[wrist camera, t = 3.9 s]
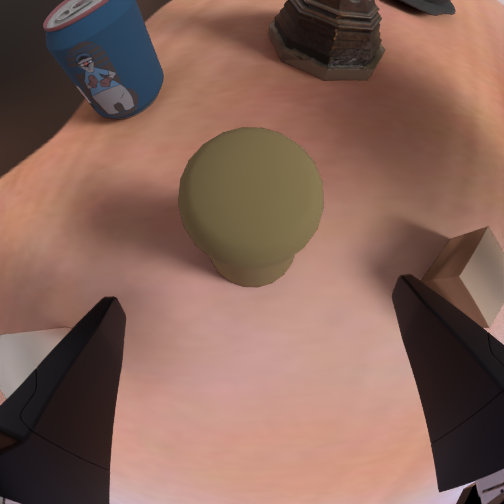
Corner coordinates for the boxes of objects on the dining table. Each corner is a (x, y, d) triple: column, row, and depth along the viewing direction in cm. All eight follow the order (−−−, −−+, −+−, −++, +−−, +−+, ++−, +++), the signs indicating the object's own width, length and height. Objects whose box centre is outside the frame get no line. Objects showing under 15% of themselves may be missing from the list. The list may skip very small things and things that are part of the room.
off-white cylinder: (62, 390, 18) (9, 413, 11) (41, 335, 18) (-16, 343, 11) (103, 380, 18) (50, 408, 11) (80, 319, 18) (19, 325, 12)
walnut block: (450, 324, 18) (489, 328, 13) (419, 281, 19) (459, 276, 14) (477, 281, 19) (516, 276, 14) (450, 238, 19) (488, 226, 14)
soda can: (146, 60, 22) (109, -29, 10) (181, 91, 21) (145, -19, 9) (89, 101, 21) (30, 23, 10) (116, 139, 21) (42, 47, 9)
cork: (213, 293, 19) (161, 291, 8) (203, 206, 20) (154, 116, 9) (303, 280, 19) (365, 263, 8) (288, 195, 20) (322, 96, 9)
